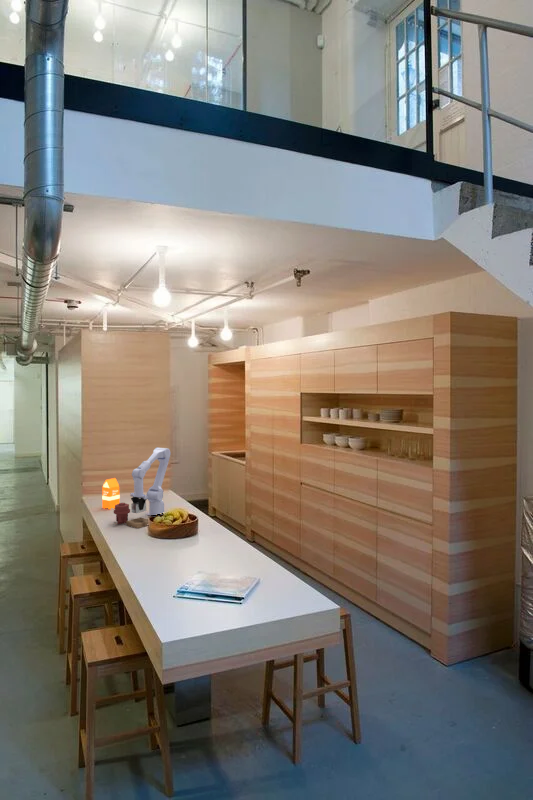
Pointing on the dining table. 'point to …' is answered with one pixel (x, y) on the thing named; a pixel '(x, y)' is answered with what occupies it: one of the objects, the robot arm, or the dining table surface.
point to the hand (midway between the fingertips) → (138, 509)
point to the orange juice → (110, 493)
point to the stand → (137, 522)
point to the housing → (137, 508)
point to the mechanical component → (121, 512)
